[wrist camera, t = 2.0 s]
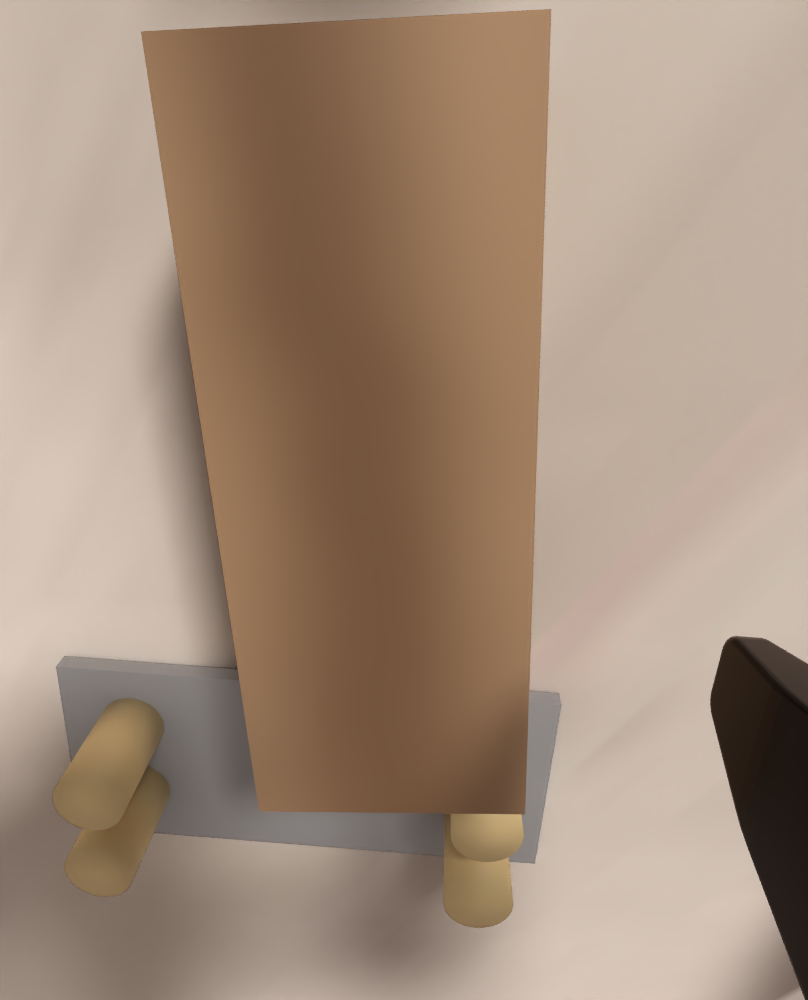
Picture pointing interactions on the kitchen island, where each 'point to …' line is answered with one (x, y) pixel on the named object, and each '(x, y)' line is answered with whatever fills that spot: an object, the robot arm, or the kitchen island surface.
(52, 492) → the kitchen island surface
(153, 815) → the stand
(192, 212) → the board
